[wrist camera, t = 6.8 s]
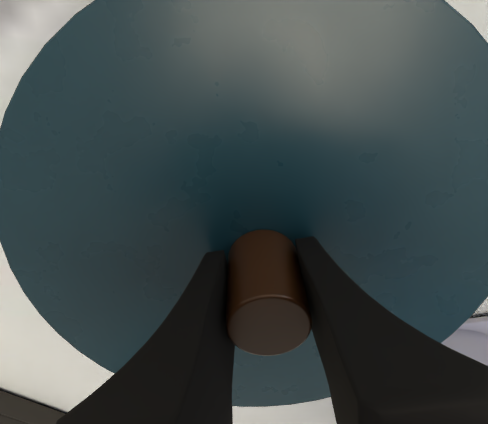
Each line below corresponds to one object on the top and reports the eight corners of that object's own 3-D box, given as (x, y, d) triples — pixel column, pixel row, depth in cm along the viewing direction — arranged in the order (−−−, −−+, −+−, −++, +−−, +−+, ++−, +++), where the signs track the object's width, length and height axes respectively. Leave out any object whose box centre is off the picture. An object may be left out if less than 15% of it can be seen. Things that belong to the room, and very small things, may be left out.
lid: (472, 361, 18) (534, 458, 14) (115, 405, 19) (86, 504, 15) (576, -123, 9) (827, -209, 5) (-113, 23, 10) (-316, 41, 6)
